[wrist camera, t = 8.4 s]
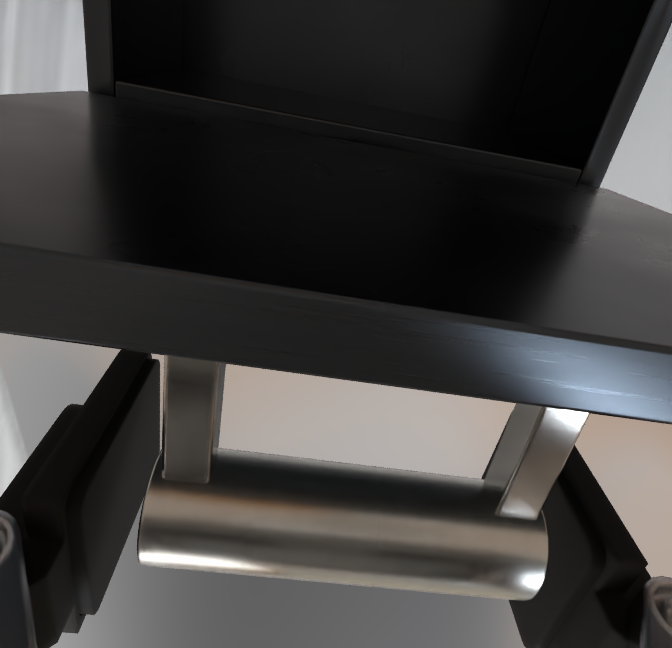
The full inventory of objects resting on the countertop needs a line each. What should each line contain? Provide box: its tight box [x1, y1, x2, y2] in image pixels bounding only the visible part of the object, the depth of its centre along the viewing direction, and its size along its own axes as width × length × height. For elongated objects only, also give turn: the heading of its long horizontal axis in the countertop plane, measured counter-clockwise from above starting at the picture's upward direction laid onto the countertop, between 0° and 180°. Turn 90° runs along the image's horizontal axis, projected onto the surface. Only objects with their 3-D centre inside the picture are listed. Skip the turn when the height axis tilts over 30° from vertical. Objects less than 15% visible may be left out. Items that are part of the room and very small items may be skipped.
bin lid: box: [0, 91, 672, 601], centre depth 11 cm, size 12×17×6 cm
